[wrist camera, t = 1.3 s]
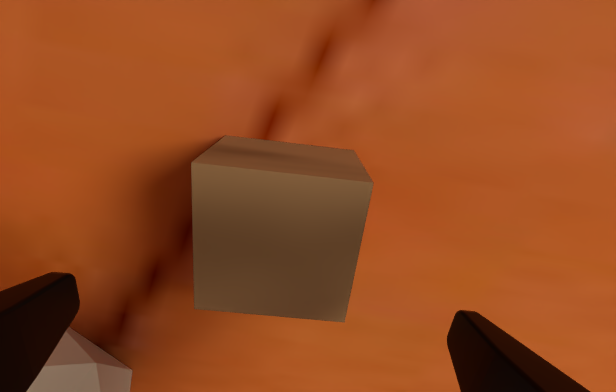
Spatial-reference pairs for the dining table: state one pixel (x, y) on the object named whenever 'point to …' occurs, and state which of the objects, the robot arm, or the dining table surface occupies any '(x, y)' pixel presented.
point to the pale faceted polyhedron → (81, 368)
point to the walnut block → (277, 227)
